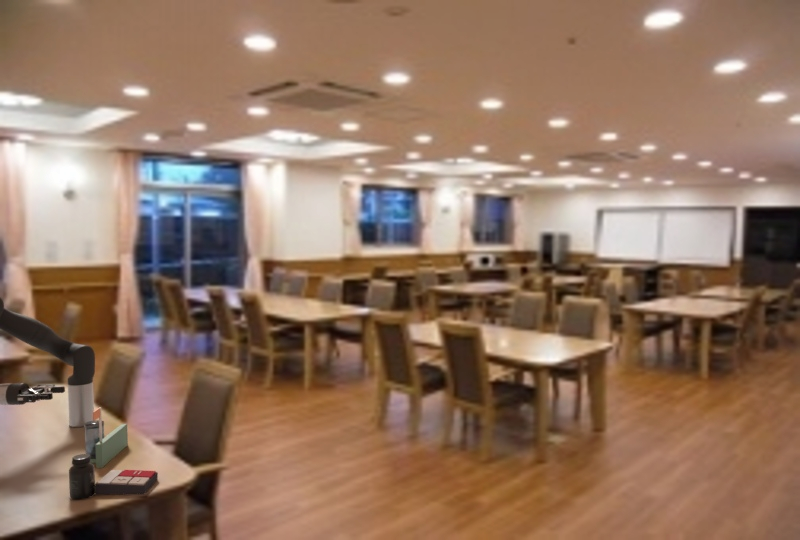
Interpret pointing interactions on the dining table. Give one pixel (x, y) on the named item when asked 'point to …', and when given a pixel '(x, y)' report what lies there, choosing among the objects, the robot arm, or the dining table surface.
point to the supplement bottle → (81, 477)
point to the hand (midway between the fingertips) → (58, 392)
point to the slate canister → (92, 437)
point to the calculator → (126, 482)
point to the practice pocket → (109, 442)
